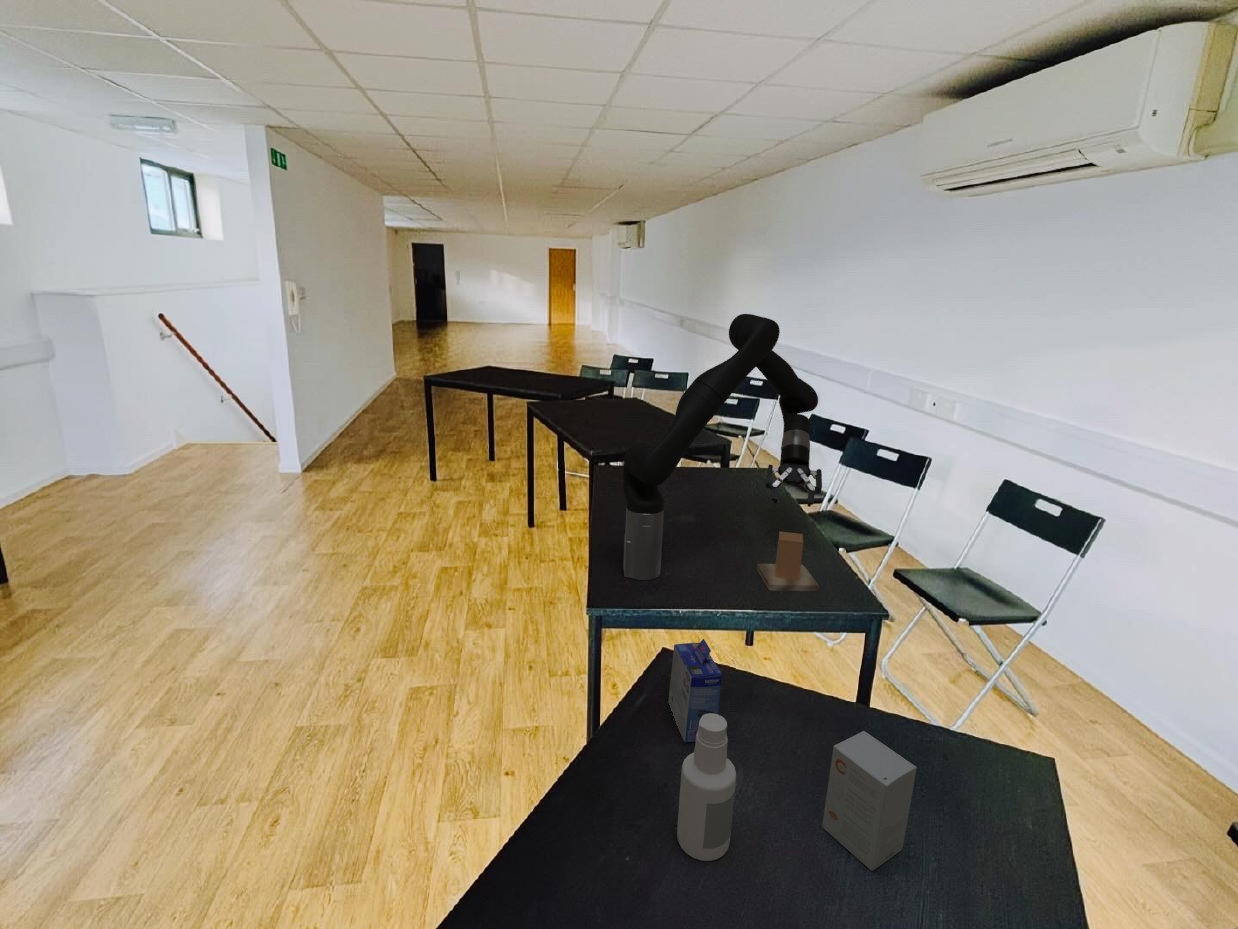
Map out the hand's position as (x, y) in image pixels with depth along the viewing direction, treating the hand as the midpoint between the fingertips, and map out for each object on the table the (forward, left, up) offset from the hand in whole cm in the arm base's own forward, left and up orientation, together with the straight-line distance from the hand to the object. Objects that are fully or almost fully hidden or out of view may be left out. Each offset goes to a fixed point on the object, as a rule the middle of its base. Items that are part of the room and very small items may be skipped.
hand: (792, 503), depth 164 cm
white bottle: (-37, -87, -17) cm, 96 cm away
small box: (-16, -87, -17) cm, 90 cm away
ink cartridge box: (-35, -64, -17) cm, 75 cm away
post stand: (-3, -10, -17) cm, 20 cm away
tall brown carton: (-3, -10, -15) cm, 18 cm away
